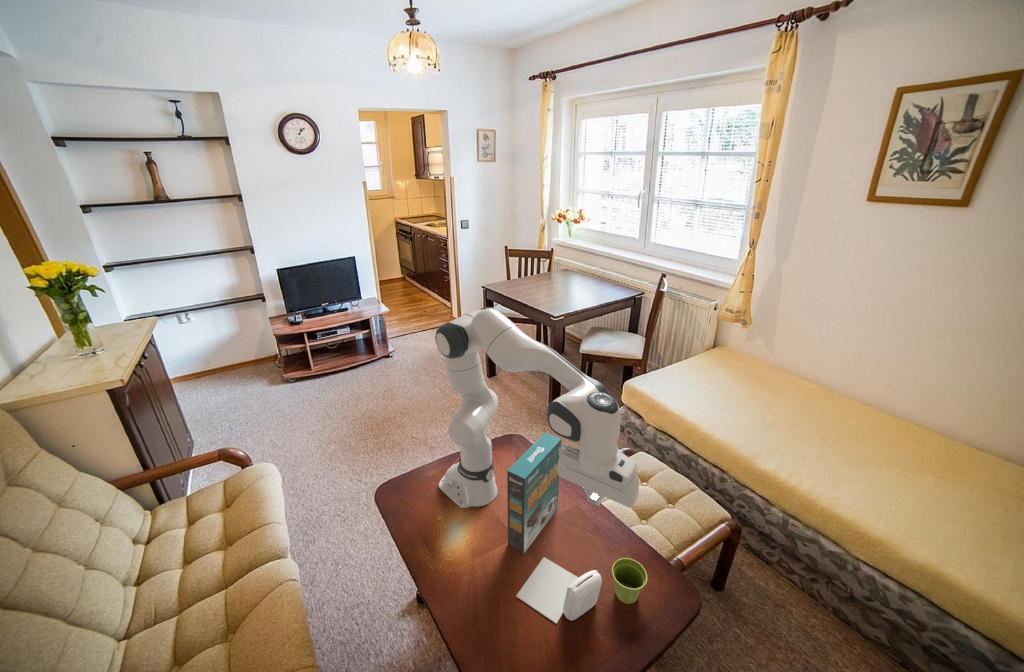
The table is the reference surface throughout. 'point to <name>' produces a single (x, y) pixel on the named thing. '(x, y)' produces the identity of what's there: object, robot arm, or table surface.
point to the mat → (547, 589)
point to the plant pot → (628, 579)
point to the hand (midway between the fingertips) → (594, 502)
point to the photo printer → (582, 595)
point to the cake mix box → (532, 491)
